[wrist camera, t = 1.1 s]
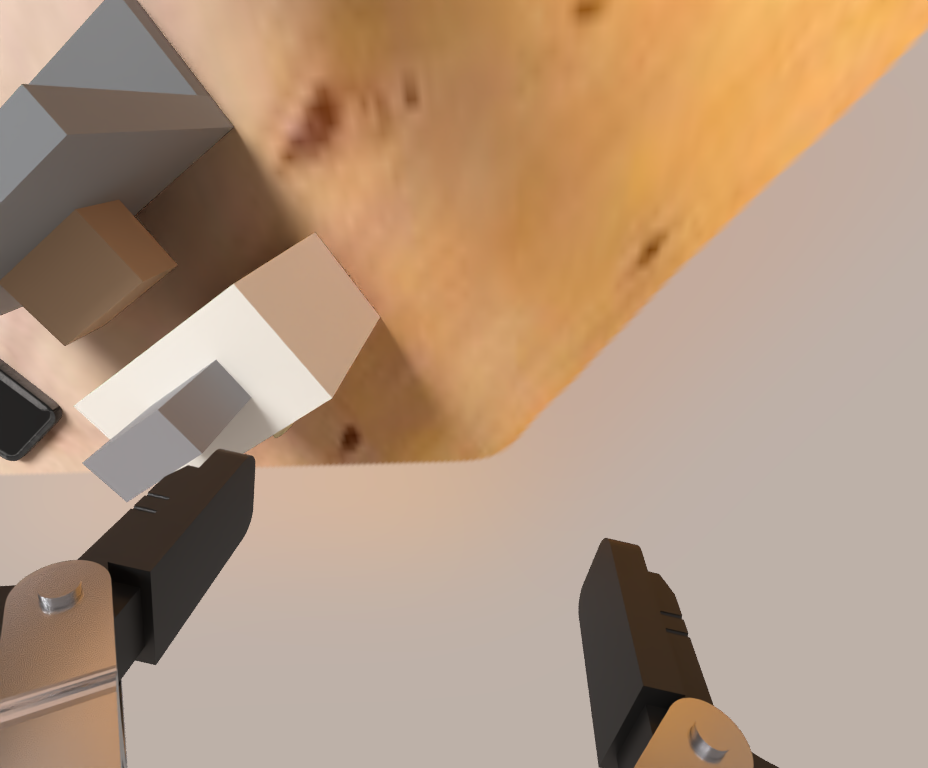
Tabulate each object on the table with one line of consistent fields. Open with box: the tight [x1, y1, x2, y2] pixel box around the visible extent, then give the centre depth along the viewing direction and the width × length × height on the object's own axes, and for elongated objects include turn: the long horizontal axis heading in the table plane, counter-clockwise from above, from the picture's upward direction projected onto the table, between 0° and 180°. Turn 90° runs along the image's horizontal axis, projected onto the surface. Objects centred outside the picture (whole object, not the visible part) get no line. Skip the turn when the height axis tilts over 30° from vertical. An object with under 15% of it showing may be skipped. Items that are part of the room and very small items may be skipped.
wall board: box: [0, 0, 234, 346], centre depth 28 cm, size 12×20×14 cm, turn 124°
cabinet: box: [74, 232, 380, 502], centre depth 31 cm, size 8×12×17 cm, turn 124°
